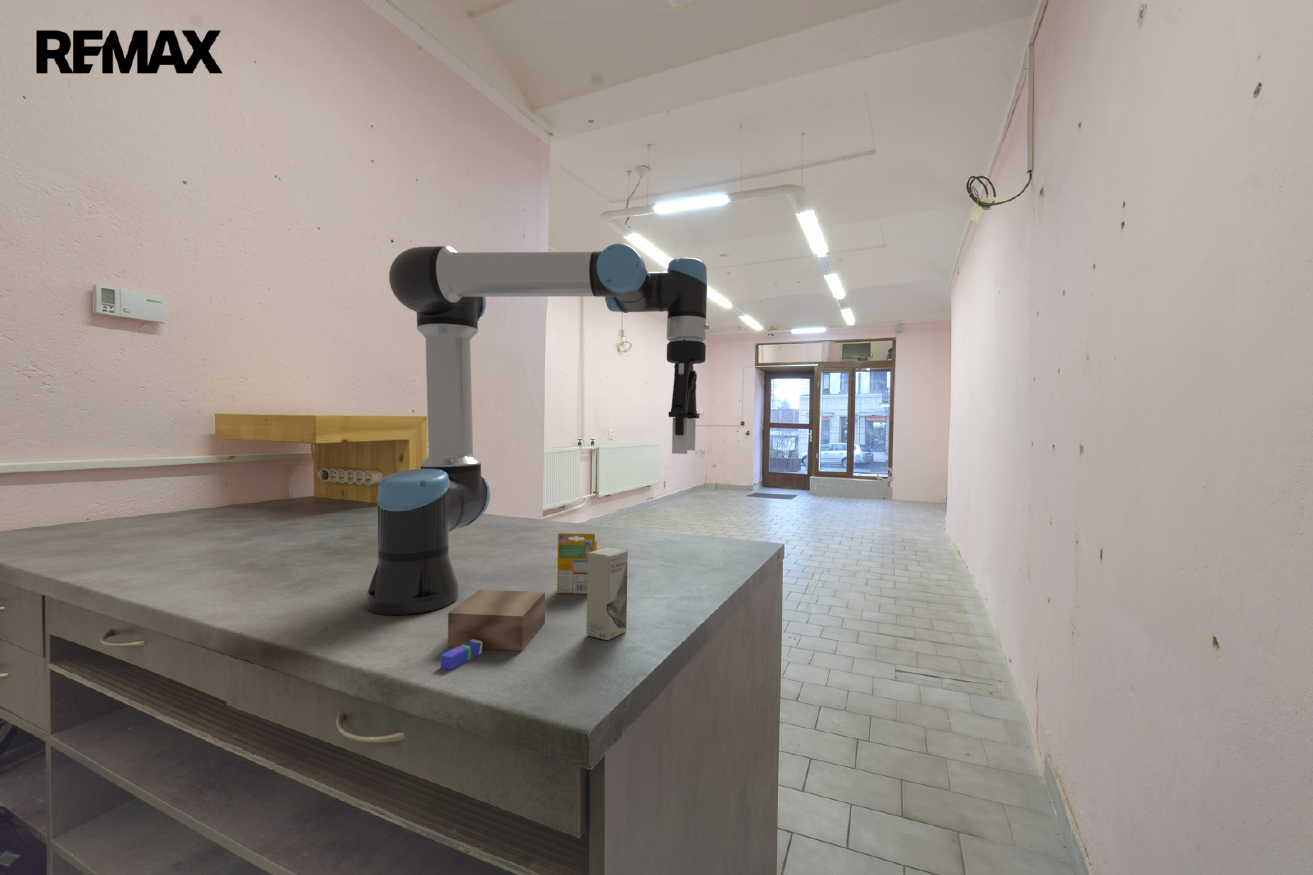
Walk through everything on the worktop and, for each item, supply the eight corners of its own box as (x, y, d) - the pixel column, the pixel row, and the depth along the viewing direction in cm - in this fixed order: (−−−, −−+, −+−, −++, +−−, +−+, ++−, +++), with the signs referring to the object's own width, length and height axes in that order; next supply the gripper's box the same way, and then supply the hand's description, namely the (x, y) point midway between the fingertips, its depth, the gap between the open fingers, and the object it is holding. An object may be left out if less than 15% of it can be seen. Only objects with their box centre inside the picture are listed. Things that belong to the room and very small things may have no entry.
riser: (448, 647, 77) (448, 613, 77) (479, 619, 88) (479, 589, 88) (522, 651, 76) (522, 616, 76) (544, 622, 87) (545, 592, 87)
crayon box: (597, 589, 105) (597, 531, 105) (595, 594, 102) (595, 534, 102) (560, 589, 105) (560, 530, 105) (557, 593, 102) (557, 533, 102)
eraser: (483, 654, 76) (483, 640, 76) (451, 672, 70) (451, 657, 70) (472, 651, 76) (472, 638, 76) (439, 669, 71) (439, 654, 71)
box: (607, 642, 80) (608, 556, 79) (585, 635, 82) (585, 552, 82) (628, 631, 84) (629, 549, 84) (606, 625, 87) (606, 546, 86)
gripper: (699, 330, 90) (697, 455, 91) (710, 350, 115) (708, 449, 116) (655, 331, 92) (653, 454, 92) (676, 351, 116) (674, 448, 117)
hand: (684, 451), depth 104 cm, fingers open, 13 cm apart
